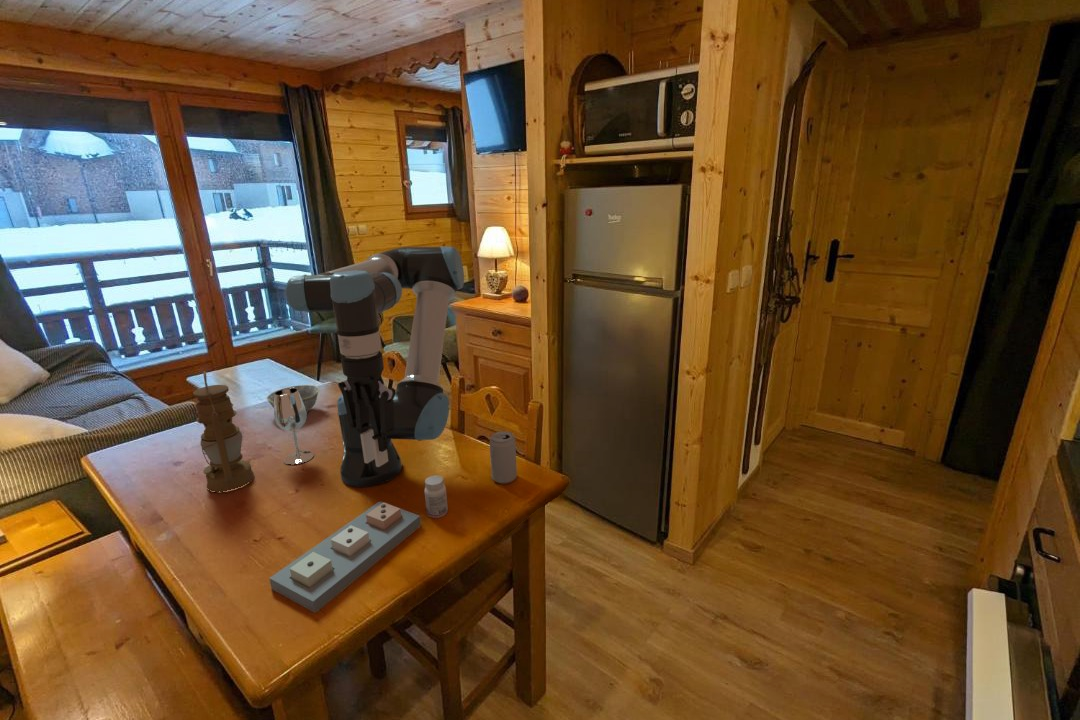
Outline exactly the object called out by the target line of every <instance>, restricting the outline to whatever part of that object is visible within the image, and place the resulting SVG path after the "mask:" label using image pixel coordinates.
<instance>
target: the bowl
mask: <svg viewBox="0 0 1080 720" xmlns="http://www.w3.org/2000/svg"><path fill="white" fill-rule="evenodd" d="M286 388H296V389H297V390H298V392H299V394H300V396H301V398H302V401H303V403H304V406H305V409H306V413H307V412H308V411H310V410H311V409H313V407H314V406H315V404H316V402H317V399H318V394H319V391H320V388H319V387H318V386H316V385H313V384H300V385H299V384H298V385H293V386H288V387H283V388H281V389H278V390H275V391H273V392H271V393H269V394H268V395H267V396H266V400H267V401H268V403H269V404H270V405H271V407H272V408H273V409H274V397H275V392H277V391H279V390H282V389H286ZM308 413H309V412H308ZM308 413H307V414H308Z"/></svg>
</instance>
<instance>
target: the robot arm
mask: <svg viewBox="0 0 1080 720" xmlns="http://www.w3.org/2000/svg"><path fill="white" fill-rule="evenodd" d="M464 273H465V271H464V266H463V261H462V258H461V254H460V252H459V250H458V249H457V248H456V247H453V246H443V245H440V246H402V247H395V248H393V249H389V250H386V251H383V252H378V253H375V254H372V255H370V256H368V258H367V259H366V260H364V261H362V262H358V263H357V262H356V263H355V264H350V265H347V266H344V267H340V268H337V269H332V270H330V271H326V272H321V273H319V274H311V275H310V274H309V275H308V274H302V275H294V276H291V277H290V278H289V280H287V283H286V285H285V297H286V301H287V304H288V305H289V306H290V308H292V310H294V311H296V312H306V313H310V314H311V313H313V312H314V313H321V312H323V313H327V312H332V313H333V314H334V319H335V320H334V321H335V326H336V333H337V338H338V346H339V351H340V352H339V353H340V354H341V355H342V356H341V357H340V361H341V368H342V373H343V375H344V376H345V377H347V378H346V379H345V380H343V381H340V382H339V383H338V384H337V385H338V388H339V390H340V392H341V395H339V396H338V398H337V402H336V404H337V415H338V421H339V427H340V431H341V439H342V443H343V456H342V462H341V465H340V470H339V471H340V477H341V482H343V483H344V484H346V485H348V486H350V487H354V488H369V487H373V486H374V487H376V486H378V485H379V486H380V485H381V484H384V483H387V482H389V481H390V480H392V479H395V477H397V476H398V475H399V474H400V472H401V470H402V460H401V457H400V454H399V453H398V451H397V449H396V447H395V445H394V443H393V440H413V441H416V440H417V441H419V442H420V441H428V440H429V441H433V440H436V439H438V438H439V437H440V436H441V435H442V433H443V432H444V430H445V428H446V425H447V421H448V419H449V412H450V408H449V407H450V400H449V396H447V394H446V393H444V387H443V386H442V385H441V384H440V383H439V380H440V372H441V367H442V365H441V363H442V356H443V349H444V341H445V334H446V324H447V317H448V309H449V303H450V301H452V300H453V299H455V296H456V291H457V290H460V289H463V288H464V284H465V274H464ZM403 289H406V290H407V289H408V290H412V292H413V293H414V295H415V296H416V299H415V308H414V315H413V321H412V325H411V326H412V327H411V333H410V340H409V345H408V346H409V347H408V351H407V353H408V354H407V359H406V367H405V372H404V378H402V379H401V380H400V381H398V382H397V383H396V389H395V388H393V387H391V388H388V386H386V385H385V382H384V380H383V377H382V375H383V374H382V373H383V371H384V369H385V366H384V358H383V356H384V355H383V353H382V352H381V350H382V348H383V347H382V341H381V332H380V327H379V326H380V325H379V317H378V315H379V314H381V313H383V312H386V311H387V310H390V309H392V308H393V307H394V306H395V305H397V304H398V303H399V302H400V300H401V298H402V295H403Z"/></svg>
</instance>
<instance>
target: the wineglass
mask: <svg viewBox="0 0 1080 720" xmlns="http://www.w3.org/2000/svg"><path fill="white" fill-rule="evenodd" d="M285 388H286V389H283V388H281V389H282V390H280V389H278V390H279V391H277V390H276V391H277V392H275V391H274V392H275V397H274V408H273V415H274V422H275V424H276V425H277V427H278V428H279V429H281V430H282V431H286V432H290V433H291V434H292V437H293V442H294V446H295V452H292V453H290V454H288V455H287V456H285V457H284V459H283V462H285V463H284V464H286V465H288V464H291V466H294V464H297V465H301V463H302V464H304V462H305V463H307V462H308V461H309V462H310V461H311V460H312V459H313V458H314V453H313V452H312V451H310V450H300V449H299V444H298V438H297V437H298V436H297V431H298V430H299V429H301V428H302V427H303V426H304V425H305V424H306V421H307V418H308V415H307V414H308V413H306V409H305V406H304V403H303V401H302V398H301V396H300V394H299V392H298V390H297V389H296V388H287V387H285Z"/></svg>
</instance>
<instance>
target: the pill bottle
mask: <svg viewBox="0 0 1080 720" xmlns="http://www.w3.org/2000/svg"><path fill="white" fill-rule="evenodd" d="M424 483H425V484H424V485H425V487H424V499H425V501H424V502H425V509H426V514H427V516H428V517H430V518H435V519H437V518H441V517H444V516H445V515H446V514H448V511H449V507H448V498H447V487H446V485H445V483H444V478H443V477H442V476H441V475H438V474H437V475H436V474H435V475H431V476H428V477H427V478H426V479H425V480H424Z"/></svg>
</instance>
